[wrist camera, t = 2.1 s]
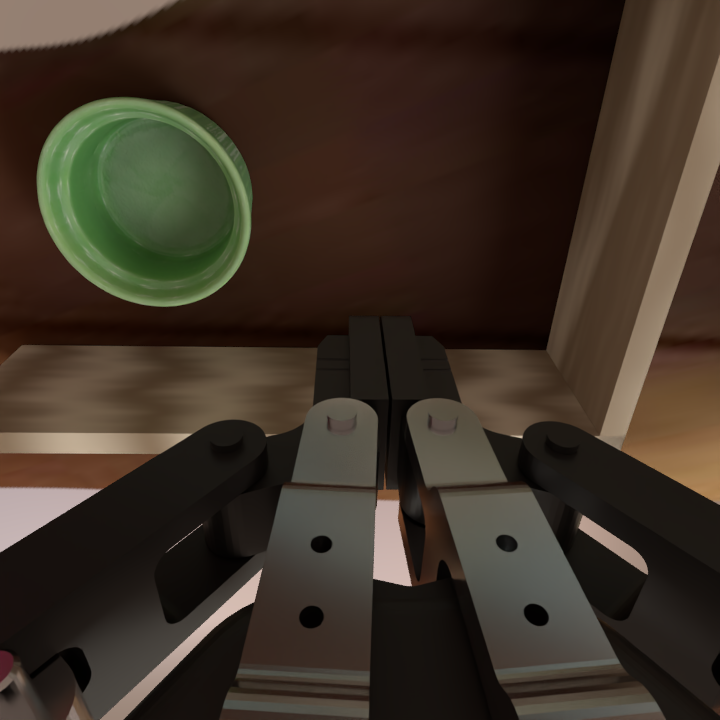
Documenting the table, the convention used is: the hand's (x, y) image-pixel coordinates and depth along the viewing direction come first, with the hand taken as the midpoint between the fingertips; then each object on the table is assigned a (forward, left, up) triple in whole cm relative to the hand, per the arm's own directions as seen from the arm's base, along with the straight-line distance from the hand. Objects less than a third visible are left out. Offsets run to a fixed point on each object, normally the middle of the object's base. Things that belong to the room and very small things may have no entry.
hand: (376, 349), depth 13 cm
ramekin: (+9, 0, -16) cm, 19 cm away
